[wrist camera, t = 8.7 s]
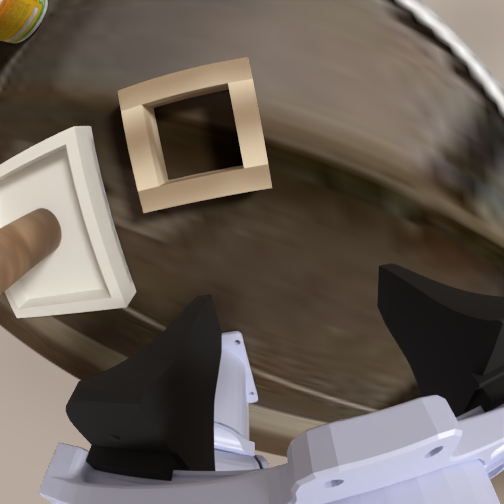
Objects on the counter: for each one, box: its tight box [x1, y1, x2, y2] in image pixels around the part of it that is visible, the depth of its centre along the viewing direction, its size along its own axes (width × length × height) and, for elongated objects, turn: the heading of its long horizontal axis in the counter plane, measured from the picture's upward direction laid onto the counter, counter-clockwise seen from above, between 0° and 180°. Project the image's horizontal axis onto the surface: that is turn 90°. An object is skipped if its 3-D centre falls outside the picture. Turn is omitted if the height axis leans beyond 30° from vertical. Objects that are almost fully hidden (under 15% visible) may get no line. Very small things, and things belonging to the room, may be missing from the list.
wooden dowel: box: [0, 208, 62, 295], centre depth 17 cm, size 4×4×9 cm
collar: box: [118, 57, 272, 213], centre depth 18 cm, size 8×8×2 cm
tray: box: [0, 126, 136, 318], centre depth 20 cm, size 14×14×2 cm
